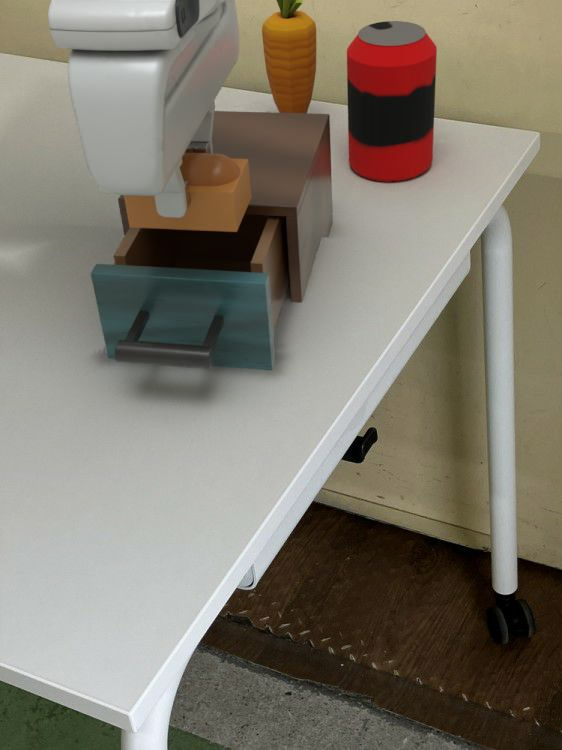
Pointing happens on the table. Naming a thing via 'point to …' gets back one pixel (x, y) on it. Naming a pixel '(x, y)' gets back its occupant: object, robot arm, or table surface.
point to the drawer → (195, 295)
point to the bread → (201, 196)
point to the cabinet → (281, 177)
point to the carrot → (290, 56)
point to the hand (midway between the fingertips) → (187, 189)
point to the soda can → (391, 101)
